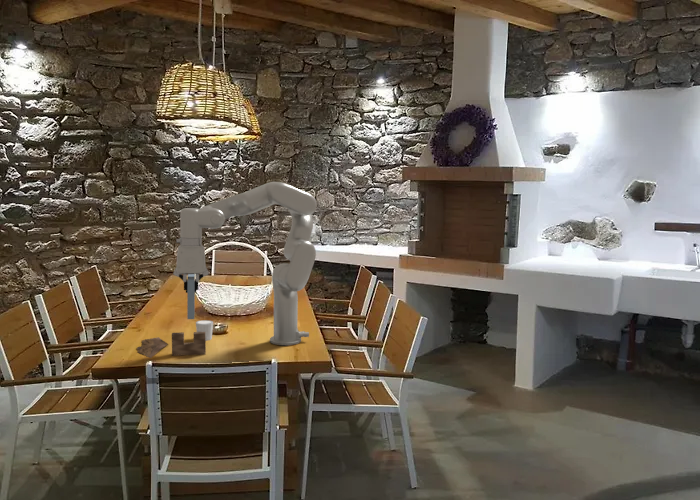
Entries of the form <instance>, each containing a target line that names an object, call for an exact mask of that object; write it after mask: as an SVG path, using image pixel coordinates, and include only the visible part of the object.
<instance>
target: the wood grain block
mask: <svg viewBox="0 0 700 500" xmlns="http://www.w3.org/2000/svg"><path fill="white" fill-rule="evenodd" d="M206 347H207V346H206V336H205V332H197V331H193V341H192V342H185V332H171V356H195V355H206V352H207V349H206Z"/></svg>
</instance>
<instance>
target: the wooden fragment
mask: <svg viewBox="0 0 700 500" xmlns="http://www.w3.org/2000/svg"><path fill="white" fill-rule="evenodd" d="M168 345H169V344H168V343H167V342H166V341H165V340H163V339H162V338H160V337H153V338H147V339H143V340H141V346H138V347H136V349H137V351H136V354H137V353H138V354H140V355H142V356H145V357H146V358H153V357H154V356H155V355H156V354H157V353H159V352H160V351H161V350H162V349H163V348H165V347H167V346H168Z"/></svg>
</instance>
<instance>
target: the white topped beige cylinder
mask: <svg viewBox="0 0 700 500" xmlns="http://www.w3.org/2000/svg"><path fill="white" fill-rule="evenodd" d="M195 328H196V330H195V331H196V332H205V336H206V341H211V340H212V338H213V328H214V321H213V320H208V319H205V320H197V321H196V322H195Z"/></svg>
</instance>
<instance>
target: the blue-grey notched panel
mask: <svg viewBox="0 0 700 500" xmlns="http://www.w3.org/2000/svg"><path fill="white" fill-rule="evenodd" d="M195 279H196V276H195V274H187V305H186V306H187V312H186V313H187V317H186V318H187V320H195V311H196V310H195V309H196V307H195V305H196V303H195V299H196V298H195V296H196V295H195Z"/></svg>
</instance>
